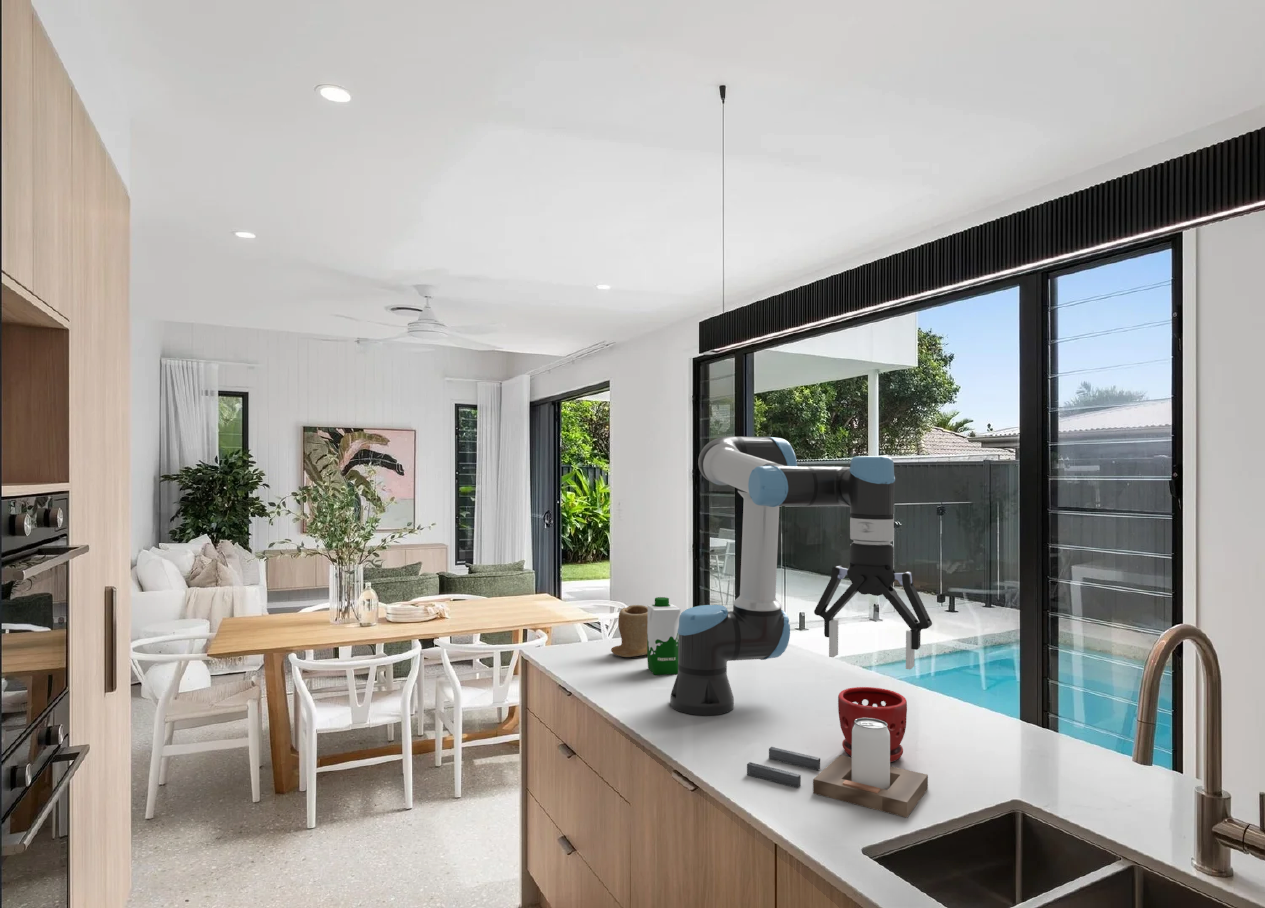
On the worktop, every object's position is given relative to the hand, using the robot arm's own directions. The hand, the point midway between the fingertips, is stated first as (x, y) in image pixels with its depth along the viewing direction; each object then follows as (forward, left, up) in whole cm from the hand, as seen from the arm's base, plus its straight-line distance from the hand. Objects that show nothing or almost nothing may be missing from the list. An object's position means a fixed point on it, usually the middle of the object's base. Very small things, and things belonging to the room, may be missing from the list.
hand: (870, 661), depth 136 cm
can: (0, 0, -23) cm, 23 cm away
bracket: (-16, -1, -23) cm, 28 cm away
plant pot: (-5, +17, -23) cm, 29 cm away
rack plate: (0, 0, -23) cm, 23 cm away
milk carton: (-72, +46, -23) cm, 88 cm away
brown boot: (-88, +57, -23) cm, 107 cm away
